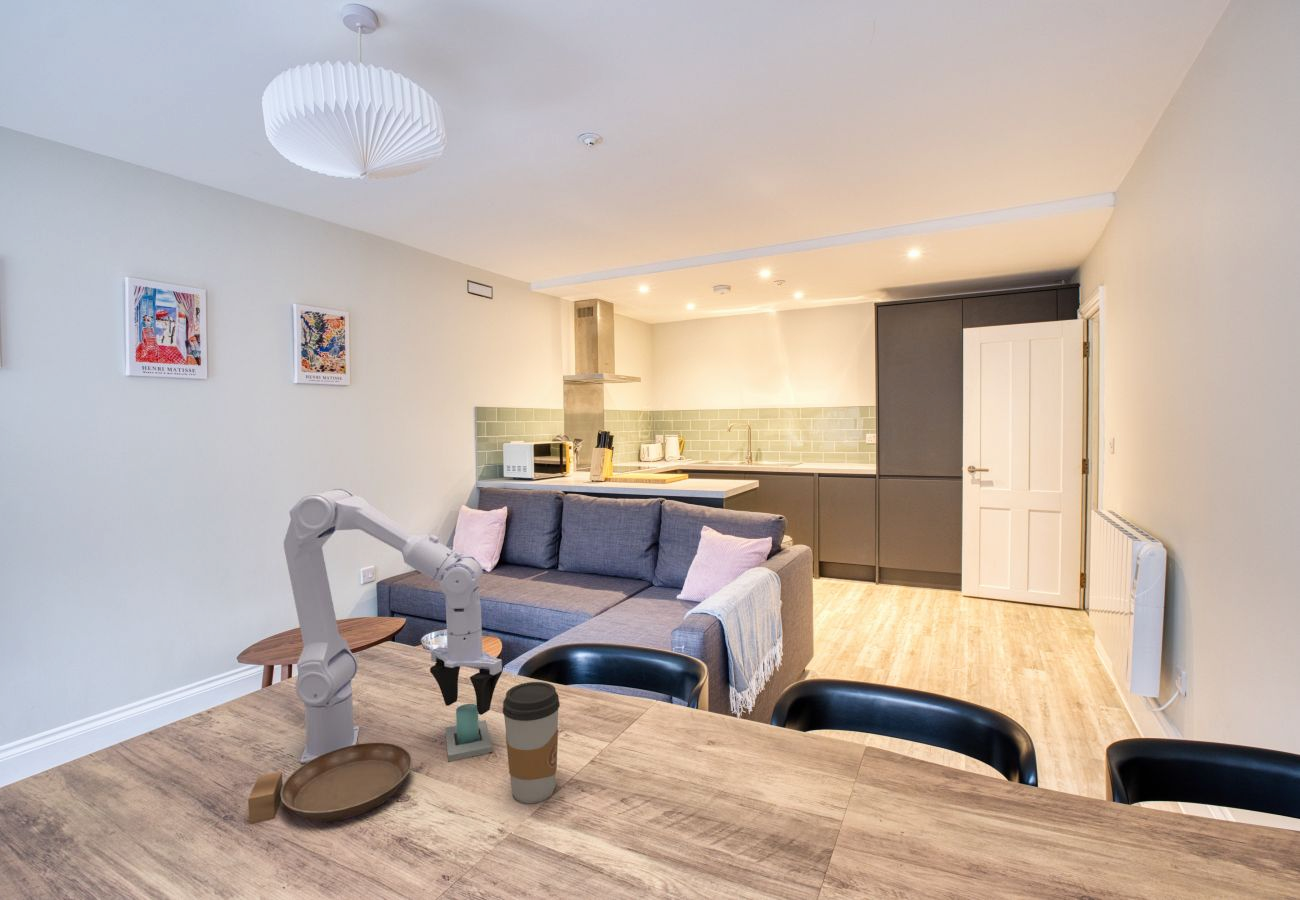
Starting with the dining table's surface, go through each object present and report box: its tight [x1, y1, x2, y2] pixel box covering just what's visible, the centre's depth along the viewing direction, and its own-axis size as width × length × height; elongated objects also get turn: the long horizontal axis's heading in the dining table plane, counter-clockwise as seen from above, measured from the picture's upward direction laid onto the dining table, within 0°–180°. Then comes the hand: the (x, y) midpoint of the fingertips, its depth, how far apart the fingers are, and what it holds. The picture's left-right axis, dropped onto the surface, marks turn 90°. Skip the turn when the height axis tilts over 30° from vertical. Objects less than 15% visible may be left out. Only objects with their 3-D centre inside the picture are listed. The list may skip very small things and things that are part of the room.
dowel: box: [455, 703, 480, 745], centre depth 105 cm, size 4×4×6 cm
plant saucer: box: [281, 741, 413, 822], centre depth 92 cm, size 18×18×3 cm
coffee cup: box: [502, 681, 560, 804], centre depth 90 cm, size 8×8×15 cm
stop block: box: [247, 770, 284, 824], centre depth 88 cm, size 6×3×4 cm, turn 21°
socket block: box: [445, 719, 493, 762], centre depth 105 cm, size 10×7×1 cm
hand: (467, 707), depth 105 cm, fingers open, 7 cm apart
